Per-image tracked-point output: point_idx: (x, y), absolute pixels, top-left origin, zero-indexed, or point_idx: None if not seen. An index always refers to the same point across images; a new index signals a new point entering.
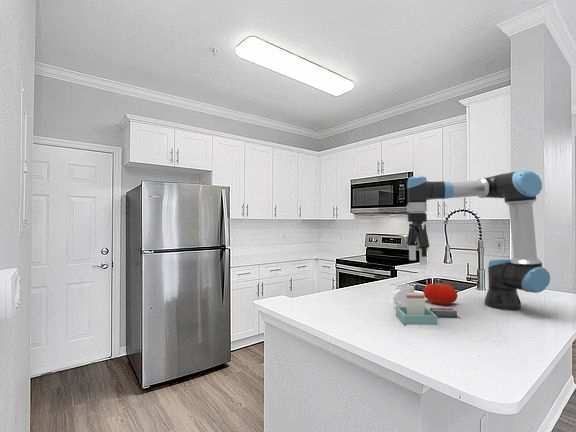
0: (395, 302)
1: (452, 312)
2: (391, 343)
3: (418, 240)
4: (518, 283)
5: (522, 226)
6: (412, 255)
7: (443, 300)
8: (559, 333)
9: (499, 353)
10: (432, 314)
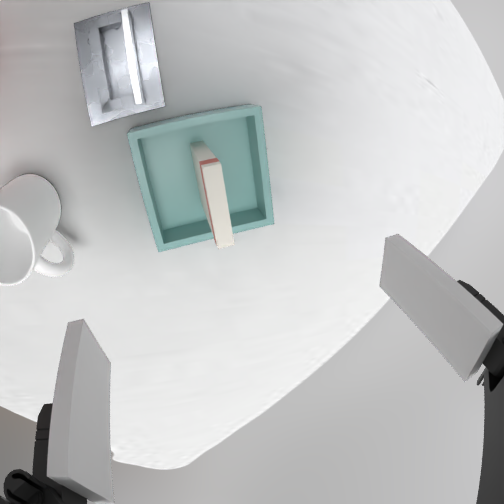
0: (73, 252)
1: (132, 26)
2: None
3: (482, 462)
4: None
5: None
6: (95, 383)
7: None
8: None
9: (417, 32)
10: (231, 118)
